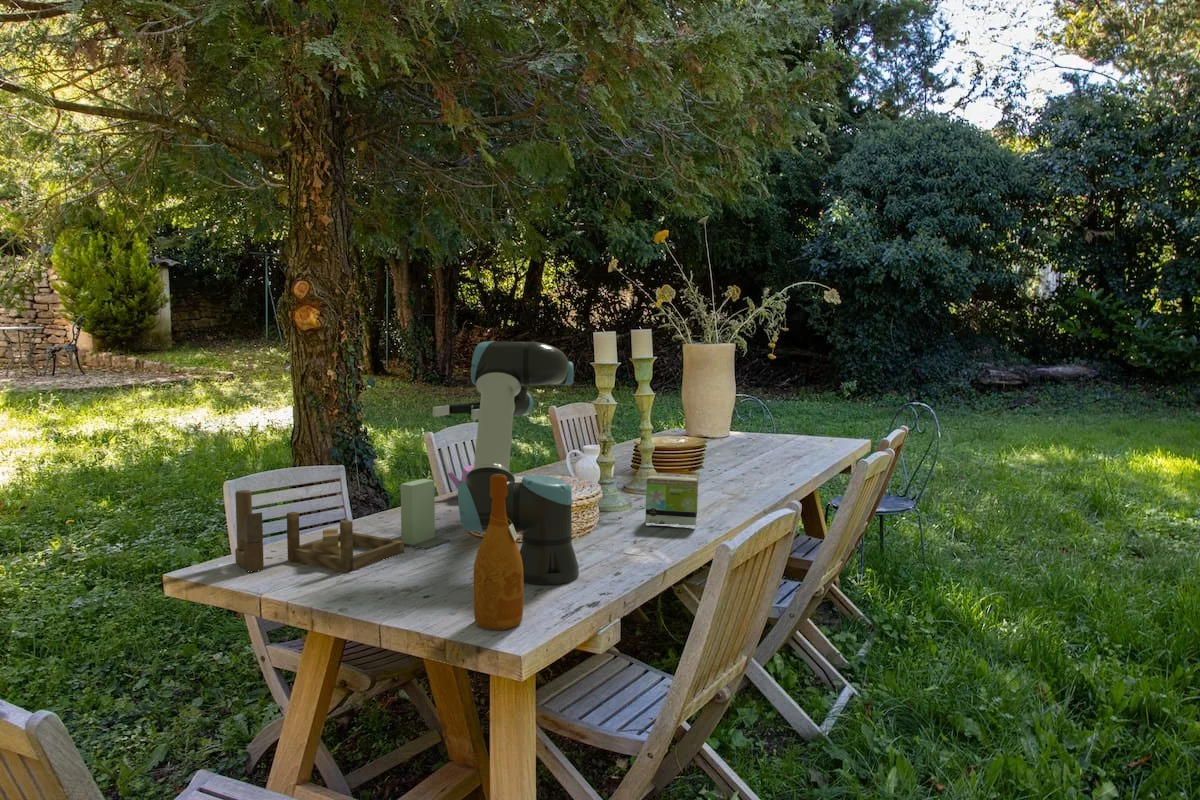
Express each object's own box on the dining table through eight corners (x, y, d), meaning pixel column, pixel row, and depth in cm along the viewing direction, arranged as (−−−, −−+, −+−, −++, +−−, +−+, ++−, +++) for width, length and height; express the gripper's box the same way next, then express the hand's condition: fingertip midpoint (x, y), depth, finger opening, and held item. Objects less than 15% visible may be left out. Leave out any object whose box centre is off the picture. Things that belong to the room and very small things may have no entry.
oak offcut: (348, 553, 202) (348, 542, 202) (339, 556, 199) (339, 546, 199) (322, 549, 205) (321, 539, 205) (312, 553, 202) (312, 542, 202)
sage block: (434, 537, 225) (434, 480, 223) (412, 544, 217) (412, 485, 216) (423, 535, 227) (423, 478, 225) (401, 542, 219) (400, 484, 217)
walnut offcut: (338, 546, 199) (337, 535, 199) (323, 547, 198) (322, 536, 198) (337, 538, 206) (337, 528, 205) (323, 540, 204) (322, 529, 204)
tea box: (644, 527, 240) (645, 477, 239) (648, 519, 250) (649, 471, 249) (696, 529, 238) (697, 479, 237) (697, 521, 248) (698, 473, 247)
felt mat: (450, 540, 223) (450, 539, 223) (426, 549, 214) (426, 548, 214) (410, 534, 230) (410, 532, 230) (385, 542, 221) (385, 540, 221)
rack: (404, 552, 211) (403, 507, 210) (347, 572, 194) (346, 523, 193) (347, 542, 220) (346, 498, 219) (287, 560, 203) (286, 513, 202)
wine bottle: (496, 636, 155) (495, 481, 153) (463, 623, 162) (462, 474, 159) (533, 622, 163) (534, 474, 160) (500, 610, 169) (500, 467, 166)
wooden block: (248, 573, 193) (246, 498, 191) (235, 562, 201) (232, 490, 199) (264, 570, 195) (262, 496, 193) (250, 560, 203) (248, 489, 202)
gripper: (531, 422, 242) (489, 429, 224) (463, 416, 254) (418, 423, 235) (531, 396, 242) (489, 402, 223) (463, 392, 253) (418, 397, 235)
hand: (452, 413), depth 229 cm, fingers open, 13 cm apart
